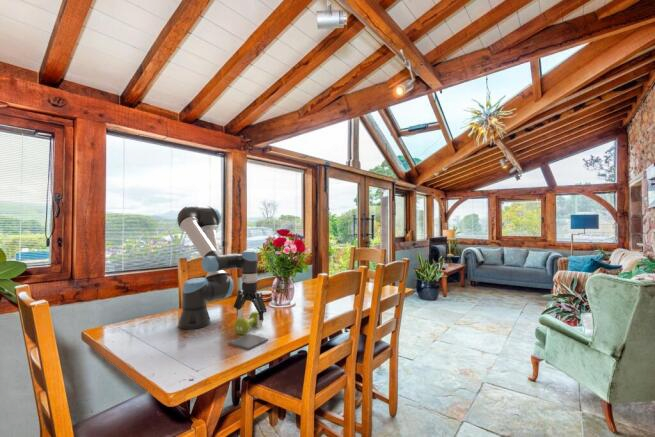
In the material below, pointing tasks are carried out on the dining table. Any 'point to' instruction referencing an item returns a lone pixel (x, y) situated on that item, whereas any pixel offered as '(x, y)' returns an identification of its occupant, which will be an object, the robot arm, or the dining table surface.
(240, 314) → the robot arm
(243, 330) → the dumbbell
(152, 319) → the dining table surface
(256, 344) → the trivet
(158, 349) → the dining table surface
